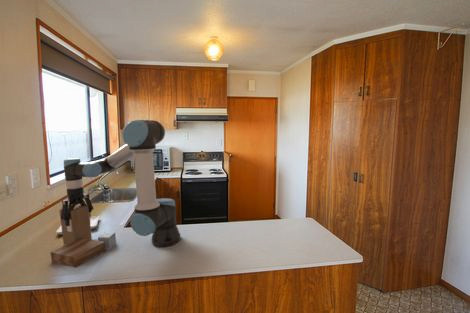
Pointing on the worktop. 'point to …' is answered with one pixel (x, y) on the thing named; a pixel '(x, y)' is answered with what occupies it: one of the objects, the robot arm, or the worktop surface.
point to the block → (77, 224)
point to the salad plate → (93, 224)
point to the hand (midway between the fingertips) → (79, 227)
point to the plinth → (78, 252)
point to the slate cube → (108, 239)
